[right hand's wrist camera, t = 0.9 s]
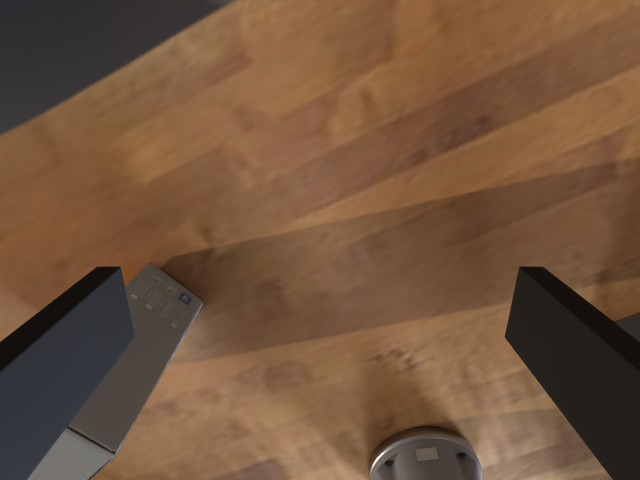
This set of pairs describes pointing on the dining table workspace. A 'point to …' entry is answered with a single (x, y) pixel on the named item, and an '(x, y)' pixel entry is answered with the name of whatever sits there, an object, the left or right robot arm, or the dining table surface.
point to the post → (631, 325)
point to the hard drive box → (124, 379)
